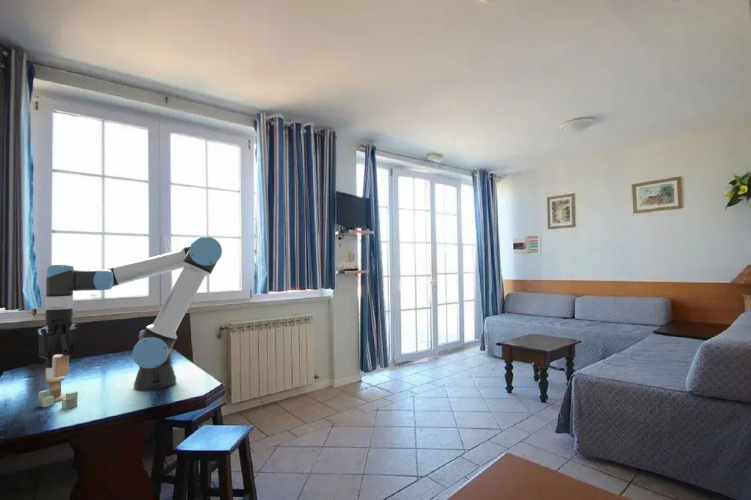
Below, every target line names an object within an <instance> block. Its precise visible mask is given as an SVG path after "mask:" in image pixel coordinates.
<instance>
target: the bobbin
mask: <svg viewBox="0 0 751 500" xmlns="http://www.w3.org/2000/svg"><path fill="white" fill-rule="evenodd" d="M65 378H66V377H65V376H62V377H59V378H49V377H45V378H44V382H45V383H46V384H47V383H48V390H50V396H54V403H55V402H62V399H64V398H66V393H62V381H64V380H65Z"/></svg>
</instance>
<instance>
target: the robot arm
mask: <svg viewBox="0 0 751 500" xmlns="http://www.w3.org/2000/svg"><path fill="white" fill-rule="evenodd" d="M222 253H223V249H222V246H221V243H220V242H219V241H218V240H217V239H215V238H214V237H212V236H205V235H204V236H199V237H196V238H195V239H194V240H193V241H192V242H191V244H189V245H186V246H182V247H181V249H180V250H175V251H173V252H171V251H170V252H168V253H164V254H161V255H156V256H152V257H148V258H144V259H140V260H137V261H132V262H128V263H124V264H120V265H116V266H113V267H109V268H104V269H101V268H100V269H82V270H81V269H75V268H74V265H72V264H51V265H49V266H48V267H47V268H46V277H45V283H46V284H45V286H46V288H45V292H46V293H45V308H46V310H45V314H44V315H45V321H46V323H45V325H44V326H43V327H42V328H37V329H36V333H37V336H38V357H39V358H41V359H45V360H44V362H45V364H44V367H45V369H46V368H47V377H46V378H49V377H55V363H56V358H53V356H54V355H55V350H56V347H57V342H58V338H60V343H61V348H62V355H69V360H68V374H69V371H70V369H69V368H70V366H69V365H70V364H71V356H72V355H74V352H76V351H77V350H78V332H79V331H78V330H79V328H80V324H79V323H74V322H73V321H72V318H73V308H72V307H73V306H74V292H79V291H80V292H81V291H83V292H84V291H108V290H111V289H112V288H113V287H117V286H120V285H122V284H127V283H131V282H135V281H138V280H142V279H146V278H149V277H153V276H158V275H161V274H162V275H163V274H165V273H168V272H172V271H176V270H181V269H182V270H181V272H180V274H179V276H178V277H177V280H176V281H175V283H174V285H173V286H172V288H171V290H170V292H169V294H168V296H167V298H166V299H165V301H164V302H163V304H162V307H161V308H160V310H159V312H158V314H157V315H156V318H155V319H154V322H153V323H151V324H149V325H147V326H146V327H145V329H142V330H140V331H139V334H138V339H139V340H138V341H137V342H136V344H134V347H132V348H133V349H132V358H133V360H134V361H133V362H134V363H135V364H136V365H137V366H138V367H139V368H138V371H137V374H136V377H135V380H134V382H133V389H134V390H135V391H154V390H160V389H164V388H168V387H172V386H174V385H175V384H177V376H176V375H175V374H176V373H175V371H174V368H173V365H172V348H173V347H174V344H175V343H176V341H177V339H178V336H177V333H176V332H177V331H178V328H179V327H180V324H181V323H182V321H183V318H184V317H185V316H186V313H187V312H188V309H189V308H190V305H191V304H192V302H193V300H194V298H195V296H196V294H197V293H198V291H199V289H200V287H201V285H202V283H203V282H204V279H205V277H206V276H209V275H210V276H211V274H212V272H213V271H214V269H215V266H216V265H217V263H218V261H220V259H221V256H222Z"/></svg>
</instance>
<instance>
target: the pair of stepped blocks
mask: <svg viewBox="0 0 751 500" xmlns="http://www.w3.org/2000/svg"><path fill="white" fill-rule="evenodd" d="M65 394H66V398H64V399H62V400H61V409H73V408H76V407H78V391H75V390H73V391H69V392H66V393H65ZM37 403H38V404H37V405H38V407H40V408H41V407H42V408H48V407H51V406H54V405H55V402H54V396H50V390H49V389H44V390H42V391H39V392H38V399H37Z"/></svg>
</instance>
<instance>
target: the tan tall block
mask: <svg viewBox="0 0 751 500" xmlns="http://www.w3.org/2000/svg"><path fill="white" fill-rule="evenodd" d="M53 358H56V363H55V377H47V368H46V367H45V373H44V374H45V376H44V377H45V378H59V377H62V376H68V375H69V373H68V360H69V355H64V354H59V353H58V354H54V356H53Z"/></svg>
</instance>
